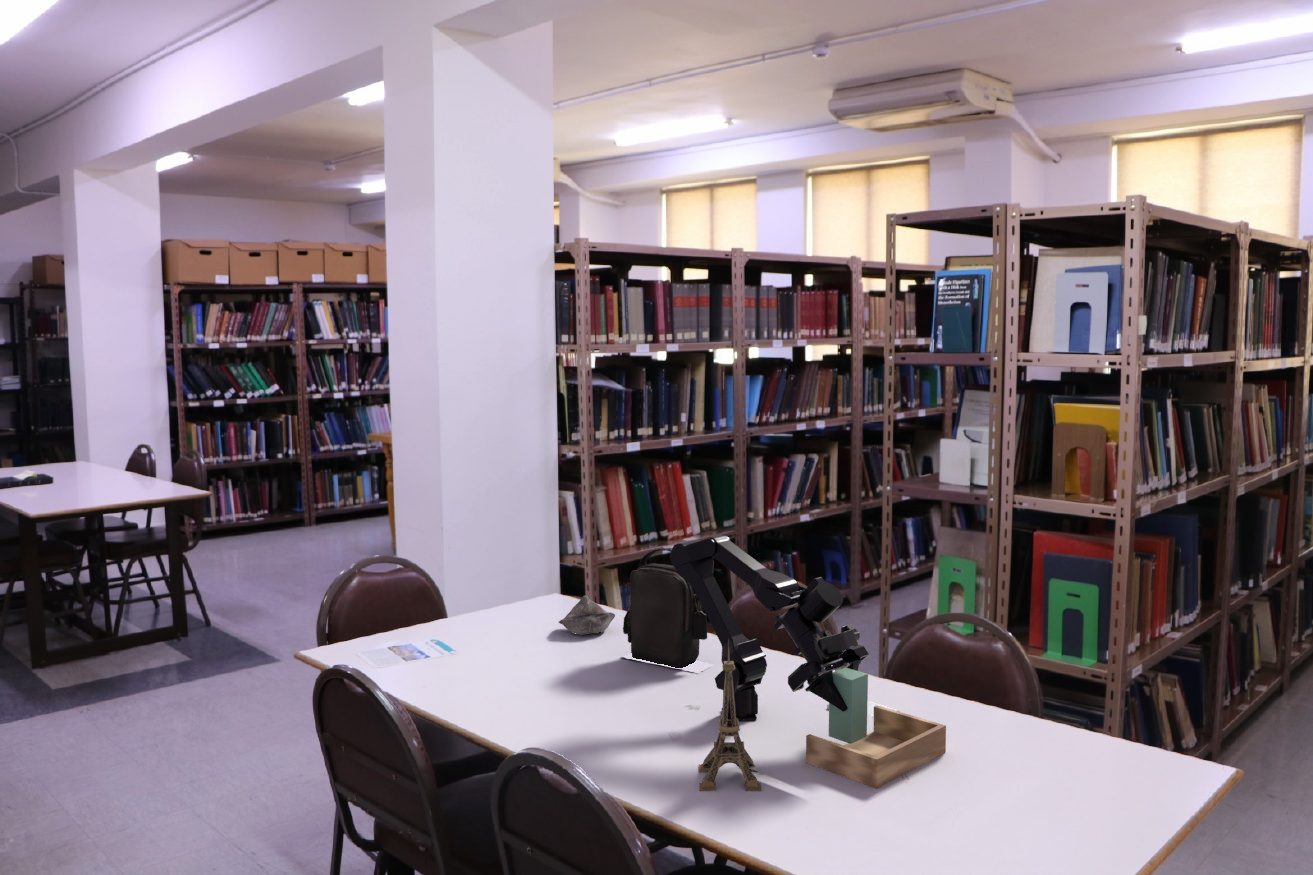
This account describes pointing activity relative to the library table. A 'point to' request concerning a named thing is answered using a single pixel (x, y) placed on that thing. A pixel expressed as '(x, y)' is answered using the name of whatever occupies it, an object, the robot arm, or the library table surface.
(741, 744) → the eiffel tower
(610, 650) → the library table surface
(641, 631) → the shoulder bag
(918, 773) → the library table surface
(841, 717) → the green block
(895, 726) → the oak crate
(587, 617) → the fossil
